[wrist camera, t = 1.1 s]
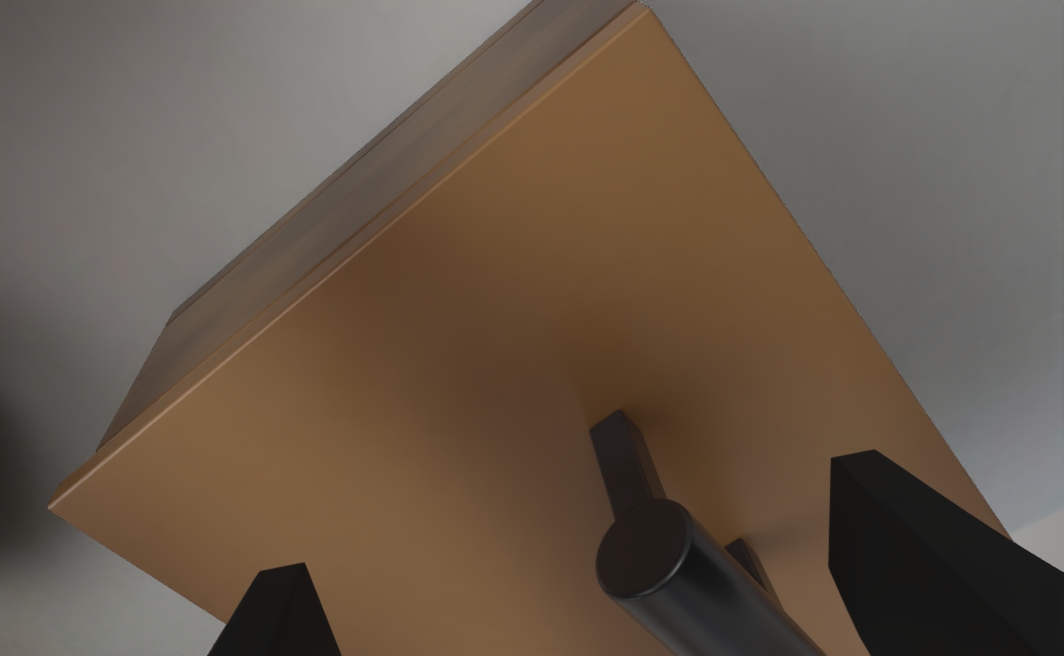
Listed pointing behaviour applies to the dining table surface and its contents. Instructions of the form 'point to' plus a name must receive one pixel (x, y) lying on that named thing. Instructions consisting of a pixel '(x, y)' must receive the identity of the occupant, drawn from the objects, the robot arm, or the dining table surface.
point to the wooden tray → (365, 189)
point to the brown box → (539, 402)
